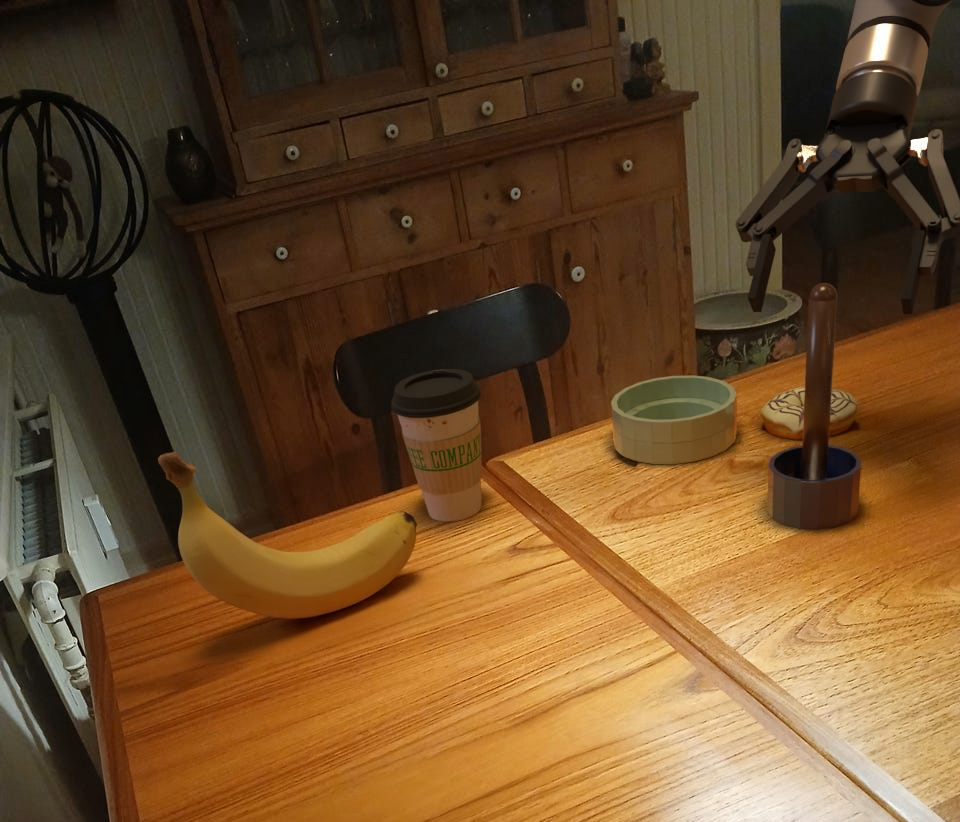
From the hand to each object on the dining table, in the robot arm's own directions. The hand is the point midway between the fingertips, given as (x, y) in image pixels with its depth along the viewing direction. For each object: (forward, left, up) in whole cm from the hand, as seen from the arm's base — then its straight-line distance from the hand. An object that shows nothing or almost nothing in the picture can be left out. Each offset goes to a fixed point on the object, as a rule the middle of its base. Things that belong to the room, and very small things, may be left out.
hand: (827, 306), depth 91 cm
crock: (0, +3, -20) cm, 21 cm away
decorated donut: (+2, -20, -21) cm, 29 cm away
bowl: (+17, -15, -20) cm, 31 cm away
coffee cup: (+39, +3, -21) cm, 44 cm away
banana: (+45, +25, -21) cm, 56 cm away
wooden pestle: (0, +3, -20) cm, 20 cm away
